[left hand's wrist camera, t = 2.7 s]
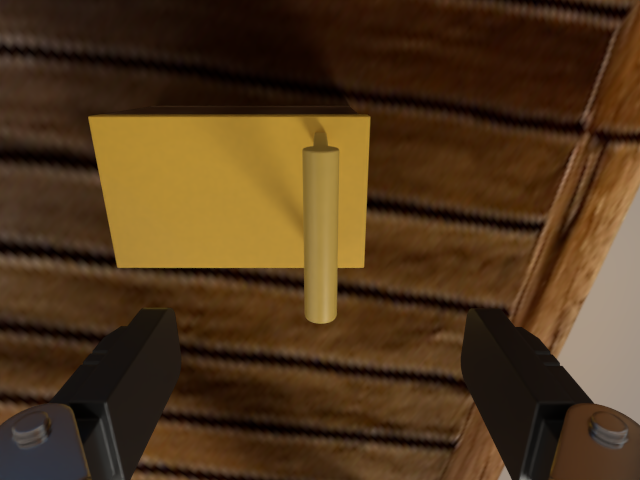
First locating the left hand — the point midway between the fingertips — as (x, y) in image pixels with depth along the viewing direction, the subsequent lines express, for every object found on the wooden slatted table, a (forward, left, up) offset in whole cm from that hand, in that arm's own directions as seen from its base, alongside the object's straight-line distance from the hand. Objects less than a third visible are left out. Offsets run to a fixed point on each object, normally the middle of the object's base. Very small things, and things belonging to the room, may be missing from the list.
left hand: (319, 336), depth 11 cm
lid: (-1, +5, -16) cm, 16 cm away
